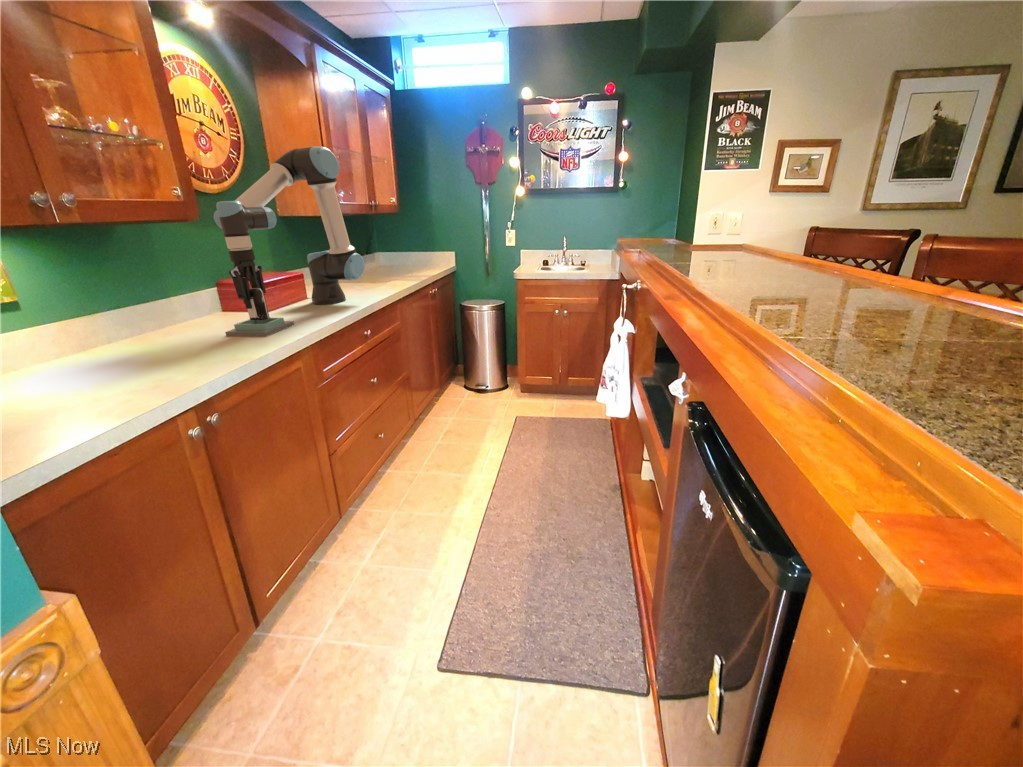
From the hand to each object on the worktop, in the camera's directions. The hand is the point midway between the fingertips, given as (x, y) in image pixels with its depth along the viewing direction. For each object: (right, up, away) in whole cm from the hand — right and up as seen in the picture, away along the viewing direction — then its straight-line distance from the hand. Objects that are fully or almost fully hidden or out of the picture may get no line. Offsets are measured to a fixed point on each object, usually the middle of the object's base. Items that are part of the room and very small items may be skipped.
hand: (257, 315), depth 160 cm
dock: (0, -5, +2) cm, 6 cm away
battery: (0, -2, +1) cm, 2 cm away
